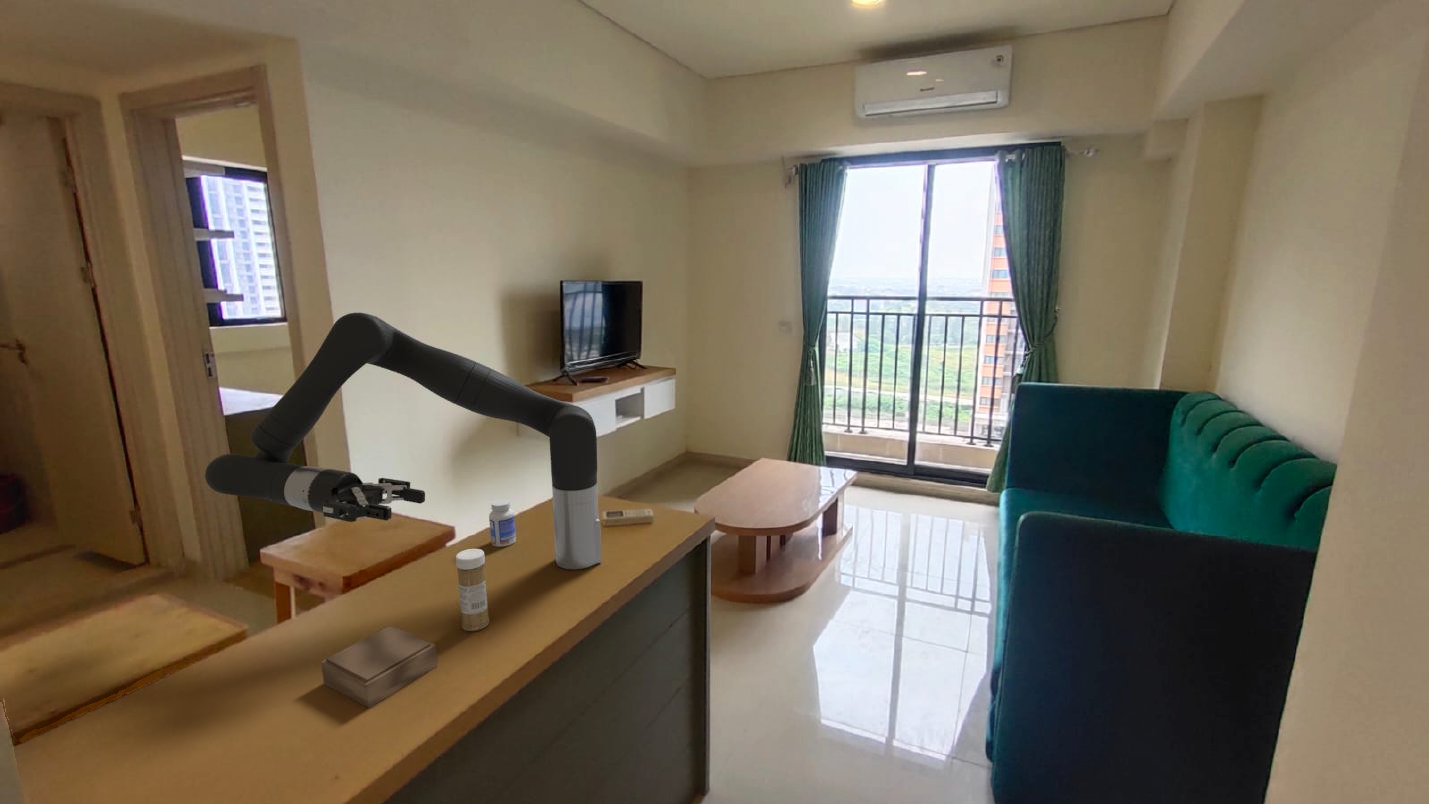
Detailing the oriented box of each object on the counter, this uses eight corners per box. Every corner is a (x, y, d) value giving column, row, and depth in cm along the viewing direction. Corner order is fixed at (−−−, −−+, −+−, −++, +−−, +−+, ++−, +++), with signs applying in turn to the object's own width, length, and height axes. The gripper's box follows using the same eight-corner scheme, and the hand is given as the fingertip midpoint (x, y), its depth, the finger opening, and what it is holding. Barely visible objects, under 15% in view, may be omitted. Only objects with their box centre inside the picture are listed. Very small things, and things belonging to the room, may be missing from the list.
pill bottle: (519, 538, 143) (517, 498, 141) (510, 548, 138) (507, 507, 136) (497, 537, 144) (494, 497, 142) (486, 547, 138) (483, 506, 136)
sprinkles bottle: (488, 616, 110) (482, 545, 107) (490, 628, 106) (485, 556, 103) (460, 622, 108) (454, 550, 105) (462, 635, 104) (456, 561, 101)
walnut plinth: (393, 646, 101) (390, 623, 100) (437, 666, 95) (435, 642, 95) (323, 683, 91) (320, 659, 90) (369, 708, 86) (366, 682, 85)
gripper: (288, 481, 99) (377, 497, 96) (354, 459, 112) (434, 472, 110) (289, 525, 100) (377, 542, 97) (354, 497, 114) (433, 512, 111)
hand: (407, 505), depth 104 cm, fingers open, 8 cm apart
